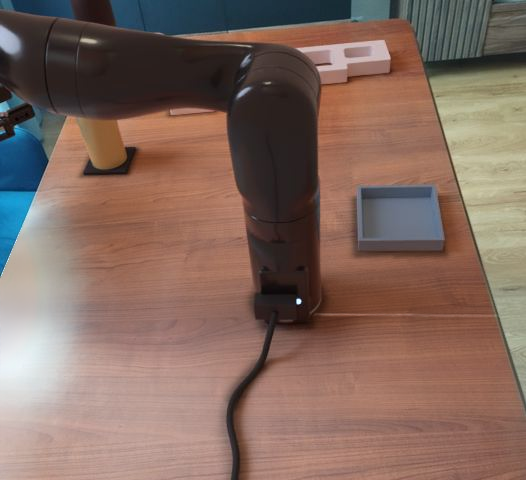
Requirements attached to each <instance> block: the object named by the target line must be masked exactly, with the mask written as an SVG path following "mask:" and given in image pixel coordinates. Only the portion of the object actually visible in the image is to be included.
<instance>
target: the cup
mask: <svg viewBox="0 0 526 480" xmlns="http://www.w3.org/2000/svg"><path fill="white" fill-rule="evenodd" d="M75 120H76V123H77V126H78V129H79V131H80V134H81V137H82V139H83V143H84V145H85V148H86V151H87V154H88V157H89V159H90V160H91V163H92V165H93V166H94V167H95V168H97V169H102V170H107V169H113V168H116V167H118V166H120V165H122V164H123V163H124V162H125V161H126V159H127V153H126V150H125V147H126V146H125V143H124V140H123V136H122V133H121V130H120V125H119V124H118V123H119V122H118V120H114V121H100V120H90V119H85V118H78V117H75Z"/></svg>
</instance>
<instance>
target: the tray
mask: <svg viewBox="0 0 526 480" xmlns="http://www.w3.org/2000/svg"><path fill="white" fill-rule="evenodd" d="M356 217H357V218H356V219H357V220H356V221H357V222H356V223H357V251H358V252H431V251H432V252H443V250H444V246H445V243H446V237H445V233H444V227H443V226H444V225H443V220H442V213H441V209H440V202H439V197H438V191H437V184H436V183H434V184H392V185H391V184H387V185H385V184H384V185H383V184H381V185H357V186H356Z"/></svg>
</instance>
